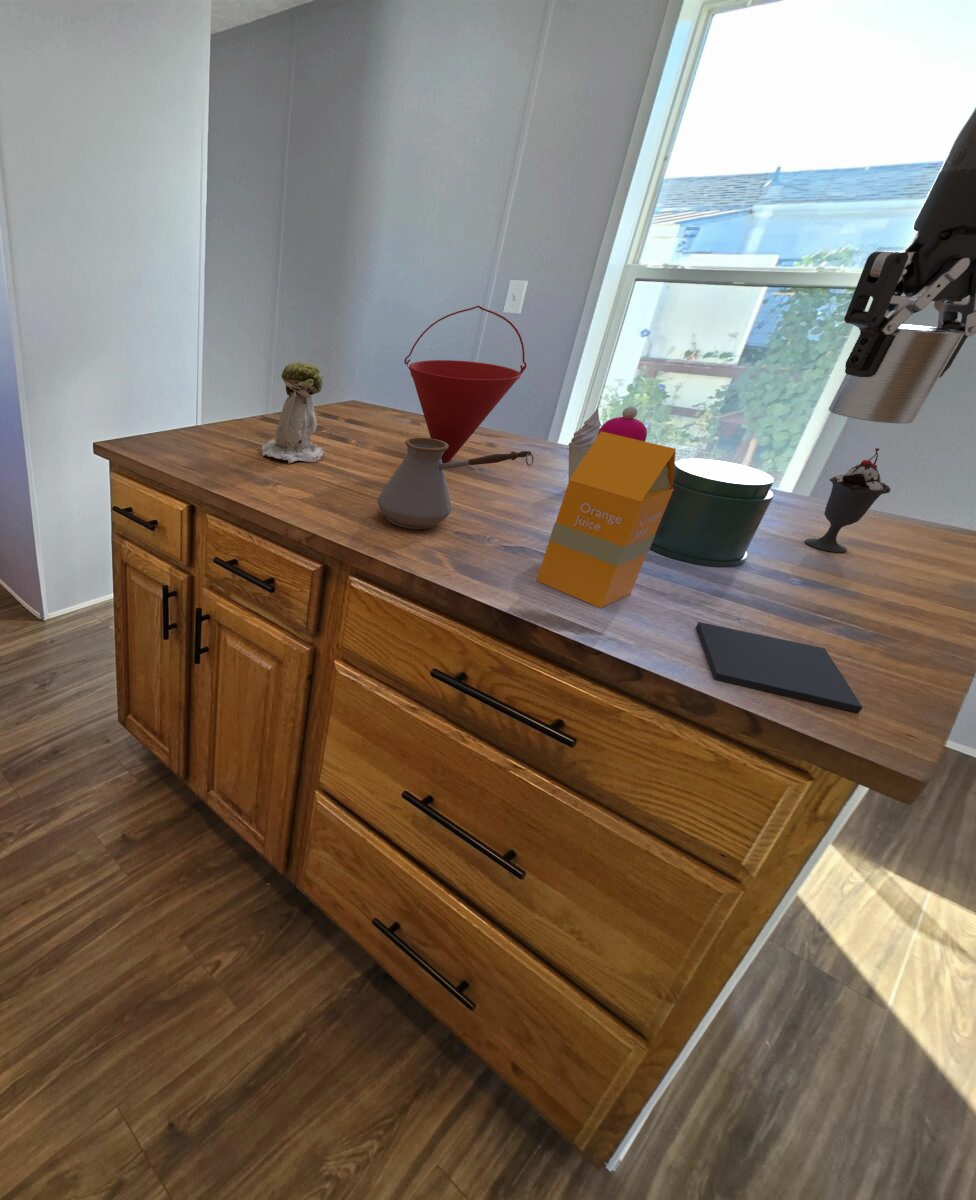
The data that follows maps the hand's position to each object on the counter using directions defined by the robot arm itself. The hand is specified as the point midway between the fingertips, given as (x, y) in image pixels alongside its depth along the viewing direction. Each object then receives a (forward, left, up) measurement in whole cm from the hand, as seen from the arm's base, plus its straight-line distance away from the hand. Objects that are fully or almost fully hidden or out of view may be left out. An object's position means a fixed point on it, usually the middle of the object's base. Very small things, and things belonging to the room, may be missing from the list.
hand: (891, 375), depth 62 cm
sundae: (-17, -39, -30) cm, 52 cm away
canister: (+2, -28, -30) cm, 41 cm away
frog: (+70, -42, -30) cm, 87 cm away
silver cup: (0, 0, -4) cm, 4 cm away
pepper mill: (+16, -25, -30) cm, 43 cm away
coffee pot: (+37, -16, -30) cm, 51 cm away
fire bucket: (+41, -49, -30) cm, 71 cm away
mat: (-1, +6, -30) cm, 31 cm away
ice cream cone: (+18, -48, -30) cm, 60 cm away
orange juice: (+17, -5, -30) cm, 35 cm away
